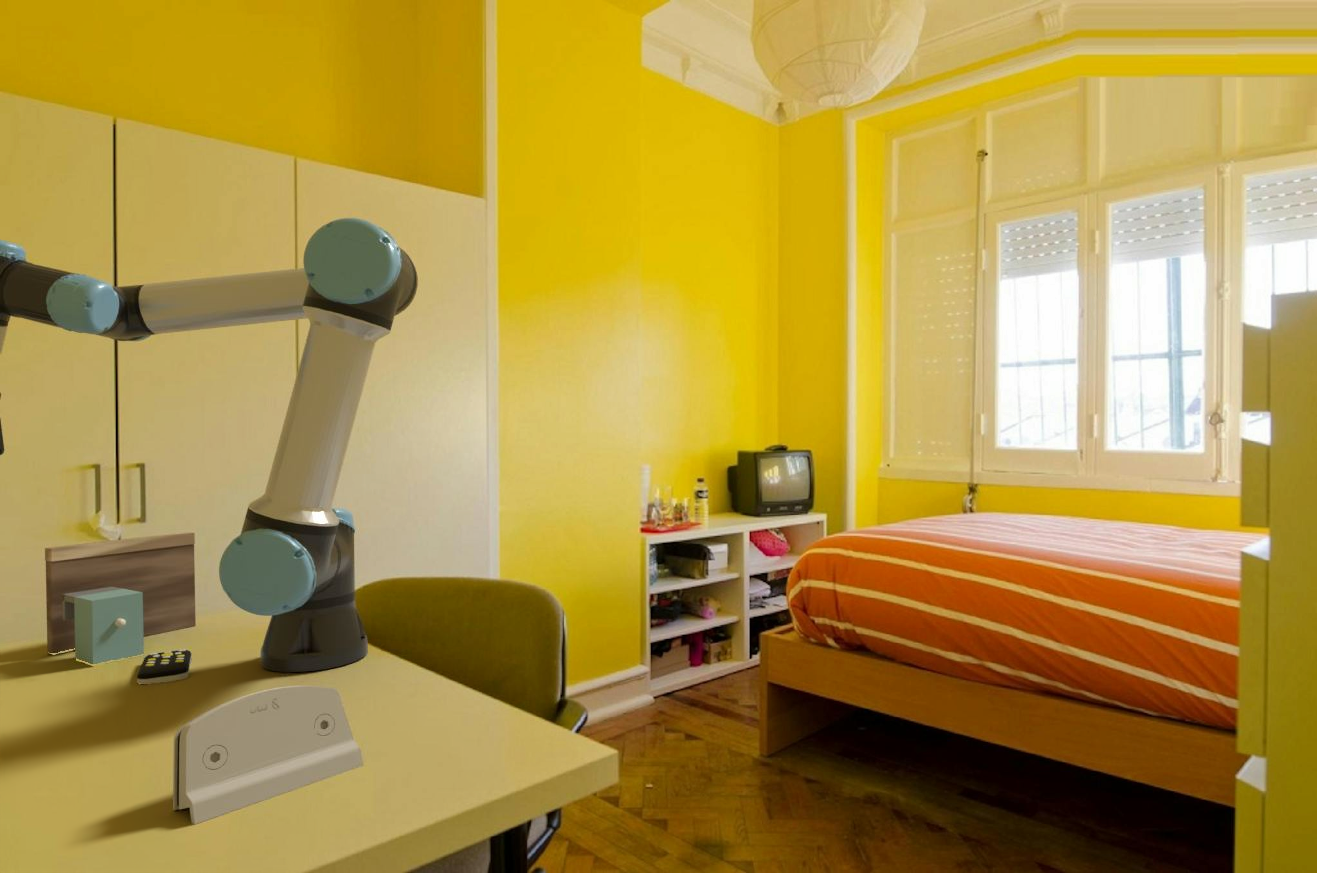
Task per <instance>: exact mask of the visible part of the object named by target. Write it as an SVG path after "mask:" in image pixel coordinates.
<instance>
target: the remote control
mask: <svg viewBox="0 0 1317 873" xmlns="http://www.w3.org/2000/svg"><path fill="white" fill-rule="evenodd" d="M192 659H193V658H192V652H191V651H190V650H188V649H185V648H183V649H182V648H181V649H179V650H178V649H177V650H172V651H163V652H151V653H150V654H147V655H146V656H145V657H144V658H143V660H142V664H141V666H140V668H139V670H138V673H137V675H136V683H140V684H148V685H152V684H151V683H155V684H161V682H163V683H169V682H176V680H177V681H181V680H185V679H187V678H188V677H189V673H190V667H191V665H192V664H191V663H192Z"/></svg>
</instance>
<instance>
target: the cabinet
mask: <svg viewBox="0 0 1317 873" xmlns="http://www.w3.org/2000/svg"><path fill="white" fill-rule="evenodd" d="M62 603H63V620H68V619H74V618H75V651H74V652H75V654H74V656H75V658H77V659H79V660H82V661H85V662H88V663H90V664H98V663H101V662H107V661H110V660H118V659H121V658H128V657H132V656H137V655H141V654H144V652H145V650H144V649H145V646H144V637H143V592H138V591H133V590H128V589H122V588H117V587H106V588H99V589H93V590H86V591H80V592H73V593H67V594H62ZM144 655H145V654H144Z"/></svg>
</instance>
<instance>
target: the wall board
mask: <svg viewBox="0 0 1317 873" xmlns="http://www.w3.org/2000/svg"><path fill="white" fill-rule="evenodd" d="M195 533H196V532H191V531H190V532H187V531H185V532H176V533H168V534H159V535H150V536H141V537H132V538H124V539H123V538H121V539H114V540H105V541H97V542H86V543H77V544H68V545H60V546H52V547H44V561H45V594H46V596H45V597H46V644H47V645H46V649H47V652H49V653H58V652H60V651H65V650H69V649H74V648H75V618H74V619H68V620H63V603H62V594H67V593H73V592H80V591H86V590H93V589H99V588H106V587H117V588H122V589H128V590H133V591H138V592H143V636H145V637H147V636H146V635H150V636H153V635H158V634H157V633H159V634H163V633H168V631H169V632H174V631H177V629H178V630H183V629H187V628H186V627H188V628H192V626H193V627H196V581H195V580H196V576H195V574H196V573H195V571H196V570H195V544H196V543H195V537H196V536H195Z"/></svg>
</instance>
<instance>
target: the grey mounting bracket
mask: <svg viewBox="0 0 1317 873" xmlns="http://www.w3.org/2000/svg"><path fill="white" fill-rule="evenodd" d="M361 750H362V749H361V748H360V746H359V745H358V743H357V742H356V741H355V738H354V736H353V731H352V729H351V726H350V722H349V720H348V715H347V713H346V710H345V707H344V704H343V701H342V697H341V694H340V692H339V691H338V689H336V688H334V687H328V686H327V687H326V686H317V685H314V686H313V685H290V686H289V685H288V686H279V687H274V688H268V689H264V690H259V691H255V692H253V693H249V694H246V695H243V696H239V697H237V698H234V699H232V700H230V701H227V702H224V703H221V704H218V705H217V706H215V707H214V708H211V709H209V710H207V711H205V712H203V713H201V714H200V715H198V716H197V717H196V716H195V718H193V719H191V720H190V721H188V722H187V723H185V724H183V725H182V726H180V727H179V729H178V730H177V731H176V733H175V735H174V738H173V769H172V770H173V772H172V774H173V778H172V780H173V781H172V782H173V783H172V785H173V786H172V787H173V788H172V810H173V811H176V810H183V809H188V808H189V813H190V822H191V824H192V825H198V824H199V823H203V822H205V821H209V820H211V819H214V818H217V817H220V816H222V815H223V816H224V815H226V814H228V813H232V812H234V811H238V810H241V809H243V808H246V807H249V806H252V805H255V804H257V803H260V802H263V801H266V800H268V799H271V798H274V797H277V796H280V795H283V794H286V793H288V792H292V791H294V790H297V789H299V788H303V787H306V786H309V785H311V784H315V783H318V782H320V781H323V780H326V779H329V778H332V777H335V776H337V775H340V774H343V773H346V772H349V771H351V770H354V769H357V768H361V767H363V766H364V761H363V760H364V759H363V756H362V751H361Z"/></svg>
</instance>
